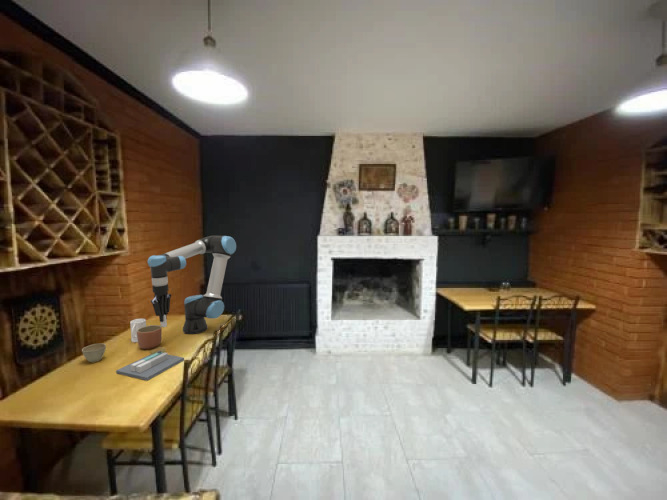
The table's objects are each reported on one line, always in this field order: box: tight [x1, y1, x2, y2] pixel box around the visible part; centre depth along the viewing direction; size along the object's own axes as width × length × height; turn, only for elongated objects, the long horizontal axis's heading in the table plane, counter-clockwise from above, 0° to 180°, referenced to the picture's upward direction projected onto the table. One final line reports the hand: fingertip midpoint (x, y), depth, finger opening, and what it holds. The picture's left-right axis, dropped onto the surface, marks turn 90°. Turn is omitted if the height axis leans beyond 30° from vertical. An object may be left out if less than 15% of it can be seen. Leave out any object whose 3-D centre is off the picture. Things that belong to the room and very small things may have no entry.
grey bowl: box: [81, 343, 107, 363], centre depth 167 cm, size 10×10×7 cm
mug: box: [130, 318, 147, 343], centre depth 193 cm, size 12×8×12 cm
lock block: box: [150, 346, 166, 355], centre depth 171 cm, size 6×4×3 cm, turn 160°
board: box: [115, 351, 185, 382], centre depth 161 cm, size 24×20×5 cm
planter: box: [137, 324, 163, 350], centre depth 184 cm, size 12×12×11 cm
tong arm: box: [131, 352, 163, 372], centre depth 160 cm, size 16×2×3 cm, turn 160°
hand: (163, 326), depth 174 cm, fingers closed
